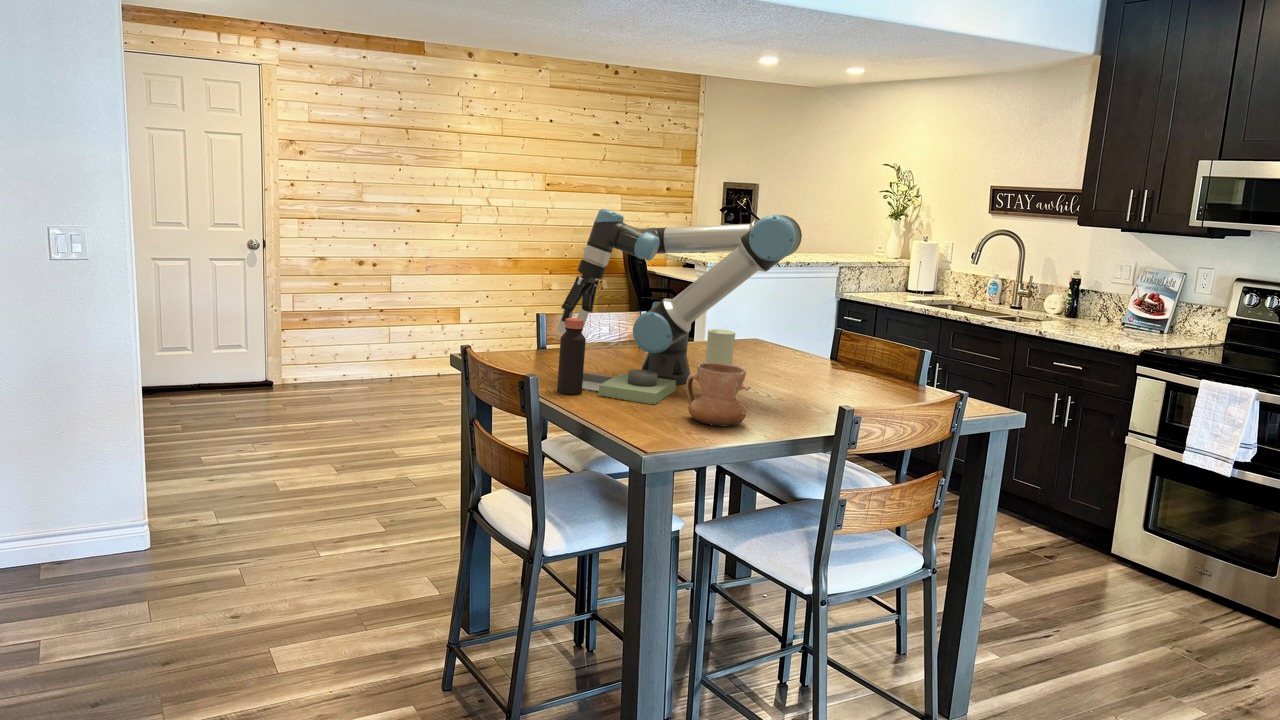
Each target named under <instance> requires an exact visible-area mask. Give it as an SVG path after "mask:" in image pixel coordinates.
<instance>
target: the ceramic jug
mask: <svg viewBox="0 0 1280 720" xmlns="http://www.w3.org/2000/svg"><path fill="white" fill-rule="evenodd" d="M696 370H697V373H696V372H695V373H691V375H689V377H688V379H687V382H686V383H685V385H686V386H685V388H686V393H687V396H688V400H689V405H688V413H689V415H690V416H691V417H692V418H693V419H694V420H696V421H698V422H700V423H702V424H704V423H706V424H705V425H708V424H712V425H711V426H713V425H731V426H735V425H738V424H740V423H742V422H743V421H744V420H745V418H746V417H747V409H746V407H745V405H743V404H742V403H741V402H740V401H739V400H738V399H737V398H736V396H737V394H738V392H739V391H742V390H745V391H746V392H748V391H749V390H750V389H752V386H750V384H748V383H744V381H745V379H746V376H747V369H745V368H744V367H742V366H738V365H733V364H732V365H725V364H719V363H705V362H700V363H698V364H697V369H696ZM694 380H696V381H697V382H698V383H699V387H700V390H701V392H702V393H701V394H700V396H698V397H694V392H693V381H694Z"/></svg>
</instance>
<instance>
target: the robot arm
mask: <svg viewBox="0 0 1280 720" xmlns="http://www.w3.org/2000/svg"><path fill="white" fill-rule="evenodd" d="M624 219H625V217H624V215H622V214H620V213H617V212H615V211H612V210H609V209H607V208H601V209H599V210H598V213H597V215H596V218H595V219H594V221H593V225H592V227H591V231H590V235H589V236H588V237H589V238H588V240H587V244H586V245H585V246H584V247H583V250H584V251H583V254H582V259H581V260H580V262H579V265H578V267H577V272H579V273H580V274H581V277H580V276H576V278H575V280H574V283H573V285H572V287H571V288H570V291H569V292H568V294H567V296H566V298H565V300H564V301H563V303H562V305H561V309H563V311H562V314H561V317H560V321H559V323H558V326H557V329H556V332H559V333H561V334H562V335H563V334H564V333H565V332H566V329H565V328H566V327H565V319H567V318H573V315H574V310H575V308H576V307H577V305H578V304H579V302H580V300H582V301H581V308H580V309H579V310H578V314H577V316H576V318H577V319H582V320H584V324H583V328H584V327H585V324H586V321H587V319H588V316H589V314H590V313H593V312H594V305H595V300H596V295H597V289H598V286H599V283H600V280H603V278H604V275H605V272H606V266H608V264H609V261H610V259H611V256H612V253H613V249H616V250H619V251H621V252H623V253H626V254H629V255H631V256H634V257H636V258H638V259H642V260H646V261H648V262H649V261H652V260H653V259H654V258H655V256H656V255H658V254H659V255H660V254H678V253H679V254H682V253H685V254H686V253H709V252H710V253H712V252H713V253H715V252H717V253H718V252H730V253H728V254H727V255H726V256H725V257H723V258H722V259H720V261H718V262H717V263H716V264H715V265H713V266H712V267H711V268H710V269H708V270H707V271H706V272H704V273H703V274H702V275H701V276H700V277H698V278H697V279H695V281H694V282H692V283H691V284H689V286H687V287H686V288H684V290H682V291H681V292H680V293H678V294H677V295H676V296H675V297H673V298H666V297H665V298H663V299H661V300H660V301H654V302H653V303H652V306H651V308H650V310H648V311H647V312H643V313H641V314H640V315H639V316H638V318H636V320H635V321H634V324H633V327H632V336H633V340H634V341H635V343H636V345H637V347H639V348H640V349H641V350H642V351H644V352H646V356H645V359H644V361H643V363H642V365H641V367H640V370H648V371H653V372H656V373H657V378H662V379H669V380H675V381H676V385H682V384H686V382H687V379H688V377H689V375H691V374H692V373H691V370H690V366H689V365H690V364H689V359H688V346H689V345H688V344H689V336H690V335H689V334H690V332H691V328H692V323H693V322H695V321H696V320H697V319H698V318H700V317H701V316H702V315H703V314H705V313H706V312H708V311H709V310H710V309H711V308H713V307H714V306H716V305H717V304H718V303H719V302H721V301H722V300H723V299H724V298H726V297H727V296H728V295H729V294H730V293H732V292H733V291H734V290H736V289H737V288H738V287H739V286H741V285H743V283H745V282H746V281H747V280H749V279H750V278H751V277H752V276H754V275H755V274H756V273H758V272H763V273H766V272H768V271H769V270H771V269H772V268H773V267H775V266H776V265H777V264H778V263H779V262H780V261H782V260H783V259H786V257H788V256H790V255H793V253H795V252H796V251H797V250H798V249H799V247H800V245H801V244H802V243H801V242H802V238H803V237H802V236H803V233H802V230H801V227H800V225H799V224H798V222H797V221H796V220H795V219H794V218H793V217H790V216H788V215H784V214H782V215H781V214H780V215H779V214H769V215H766V216H764V217H761V218H760V219H754V220H753V221H752V222H751V223H738V224H720V225H719V224H718V225H693V226H692V225H691V226H672V227H671V226H670V227H648V228H639V227H635V226H631V225H629V224H627V223H625V222H624Z"/></svg>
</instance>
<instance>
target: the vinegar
mask: <svg viewBox="0 0 1280 720" xmlns="http://www.w3.org/2000/svg"><path fill="white" fill-rule="evenodd" d="M583 324H584V320H582V319H577V317H572V318H567V319H565V327H566V328H565V329H566V332H565V333H564V334H563V333H562V335H561V336H560V342H559V344H560V345H559V354H558V355H559V358H558V370H557V371H558V372H557V385H556V388H557V389H556V391H557V392H558V393H559V394H561V393H562V395H566V394H568V395H567V396H569V395H570V396H575V395H576V394H578V395H580V394H582V393H583V390H582V383H583V372H584V368H585V355H586V354H585V353H586V342H587V340H586V339H587V338H586V337H585V336H584V334H583V330H584V327H583Z"/></svg>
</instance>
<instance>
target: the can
mask: <svg viewBox="0 0 1280 720" xmlns="http://www.w3.org/2000/svg"><path fill="white" fill-rule="evenodd" d="M706 341H707V342H706V350H705V359H704V363H719V364H725V365H732V366H733V359H734V358H733V357H734V356H733V355H734V349H735V341H736V332H735V331H732V330H728V329H727V330H726V329H718V328H716V329H714V328H712V329H711V328H710V329H708V330H707V340H706Z"/></svg>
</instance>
